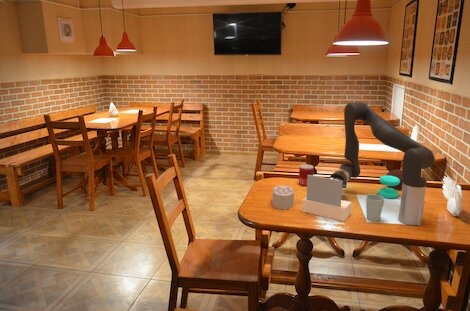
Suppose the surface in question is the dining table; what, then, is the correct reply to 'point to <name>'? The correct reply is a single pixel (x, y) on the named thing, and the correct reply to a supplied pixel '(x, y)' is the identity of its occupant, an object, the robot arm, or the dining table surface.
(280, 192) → the paw print tray
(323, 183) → the flap
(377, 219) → the cup
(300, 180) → the canned food
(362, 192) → the dining table surface
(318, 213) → the carton
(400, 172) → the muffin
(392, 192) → the pair of teal discs
